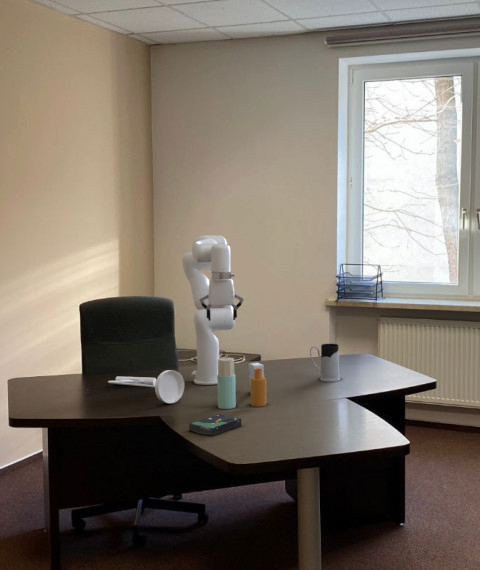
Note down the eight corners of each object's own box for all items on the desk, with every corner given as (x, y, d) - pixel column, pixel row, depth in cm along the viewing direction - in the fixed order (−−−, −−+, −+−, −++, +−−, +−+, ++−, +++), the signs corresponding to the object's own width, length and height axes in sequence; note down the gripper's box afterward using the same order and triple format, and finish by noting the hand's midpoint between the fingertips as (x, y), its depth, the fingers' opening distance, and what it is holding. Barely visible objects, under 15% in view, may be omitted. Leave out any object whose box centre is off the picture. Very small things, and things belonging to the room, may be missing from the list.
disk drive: (219, 421, 254) (188, 430, 243) (219, 413, 254) (188, 422, 242) (241, 426, 248) (211, 436, 236) (241, 418, 248) (211, 427, 236)
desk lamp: (204, 370, 292) (137, 365, 322) (159, 370, 275) (92, 365, 306) (203, 401, 291) (136, 394, 321) (157, 404, 274) (90, 395, 305)
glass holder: (334, 382, 314) (333, 347, 313) (305, 378, 321) (305, 344, 320) (343, 378, 321) (343, 344, 320) (315, 375, 329) (315, 341, 328)
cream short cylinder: (215, 375, 272) (214, 359, 272) (225, 372, 277) (225, 357, 277) (227, 377, 269) (226, 361, 269) (237, 374, 274) (237, 358, 273)
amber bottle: (247, 405, 276) (247, 369, 275) (257, 402, 281) (256, 367, 280) (260, 407, 273) (259, 371, 272) (269, 404, 278) (269, 368, 276)
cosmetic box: (265, 395, 292) (264, 364, 291) (254, 396, 290) (254, 365, 289) (259, 391, 298) (258, 362, 297) (248, 393, 296) (248, 363, 295)
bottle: (214, 407, 273) (213, 364, 272) (225, 403, 279) (225, 361, 277) (227, 409, 270) (227, 366, 268) (239, 406, 275) (238, 363, 274)
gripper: (243, 275, 291) (243, 318, 293) (199, 276, 290) (200, 319, 291) (243, 276, 284) (244, 320, 285) (198, 277, 282) (199, 321, 284)
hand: (221, 319), depth 288 cm, fingers open, 9 cm apart
